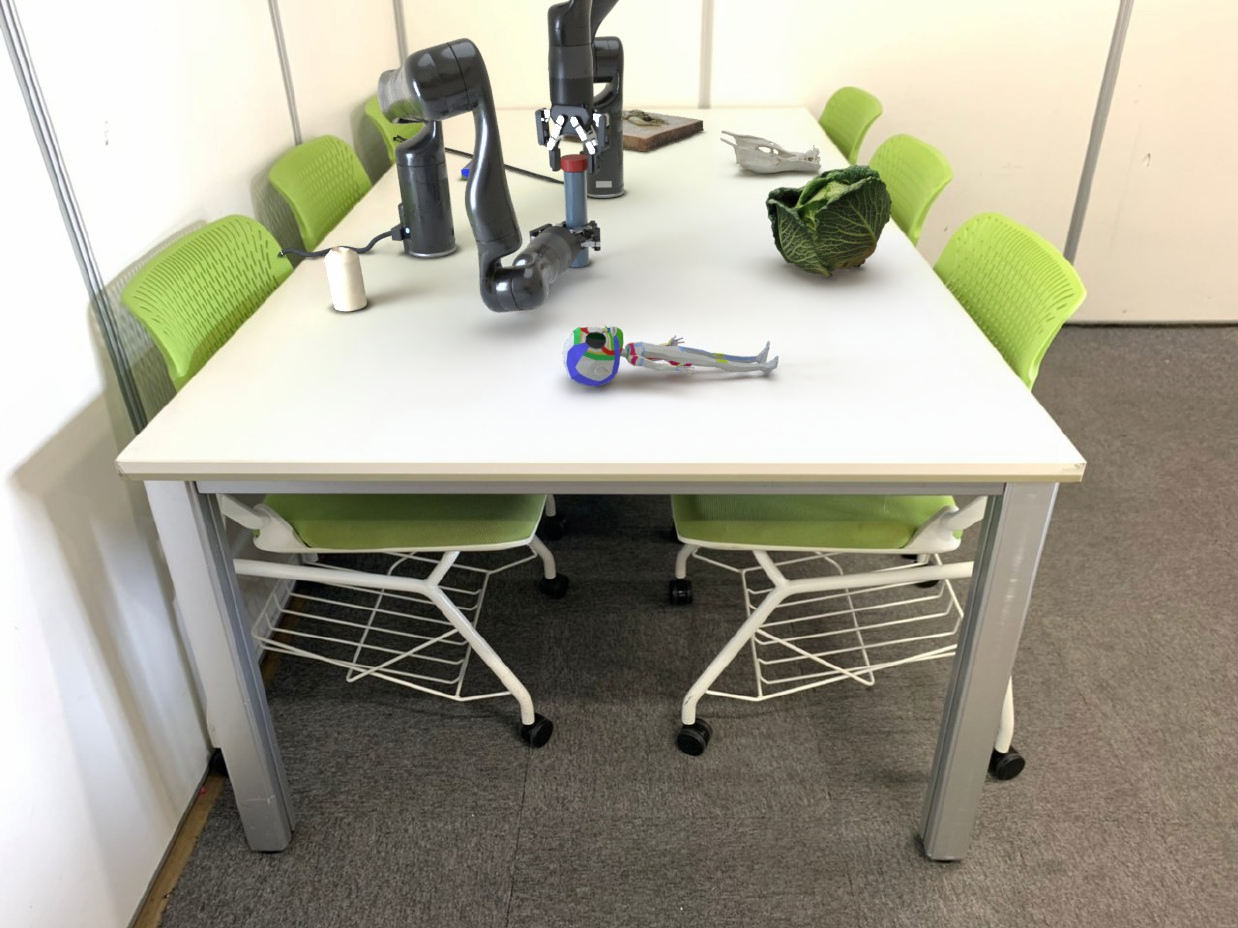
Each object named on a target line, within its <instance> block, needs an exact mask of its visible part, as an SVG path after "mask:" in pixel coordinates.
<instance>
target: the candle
mask: <svg viewBox="0 0 1238 928" xmlns="http://www.w3.org/2000/svg"><path fill="white" fill-rule="evenodd" d="M331 248H332V247H331ZM324 262H325V269H326V273H327V278H328V284H329V289H330V295H331V298H332V304H333V307H334V309H335V310H337V311H340V312H352V311H358V310H361V309H363V308H365V307H366V306H367V304H368V300H367V294H366V288H365V282H364V276H363V271H362V264H361V260H360V253H356V252H355V251H353V250H351V249H347V248H344V247H337V246H333V248H332V249H331V250H330V252H329V253H328V254H326V255H325V257H324Z"/></svg>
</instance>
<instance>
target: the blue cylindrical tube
mask: <svg viewBox="0 0 1238 928" xmlns="http://www.w3.org/2000/svg"><path fill="white" fill-rule="evenodd" d="M562 171H563V170H562ZM562 173H563V182H564V184H563V188H564V189H563V194H564V213H565V214H564V215H565V217H564V218H565V220H566V229H568V230H570V229H571V230H573V229H575V228H577V227H585V226H586V225H587V224H588V223H589V217H588V213H589V212H588V196H587V183H586V170H584V171H580V172H567V171H563V172H562ZM589 248H590V247H586V248H585V250H583V251H580V252H579V254H578V256H577V258H576V260H575V261H574V262H573V263H572V264H571V265H570V266H569V267H572V268H583V267H587V266H589V264H590V249H589Z"/></svg>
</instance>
